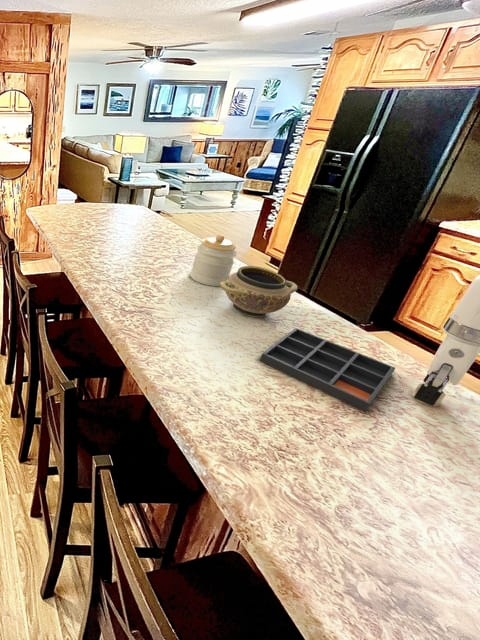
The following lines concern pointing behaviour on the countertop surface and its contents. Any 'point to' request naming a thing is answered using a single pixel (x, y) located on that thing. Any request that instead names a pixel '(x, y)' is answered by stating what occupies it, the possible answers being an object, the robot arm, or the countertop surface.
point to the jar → (213, 261)
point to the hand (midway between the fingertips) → (427, 392)
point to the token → (428, 404)
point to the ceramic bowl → (257, 291)
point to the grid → (329, 367)
